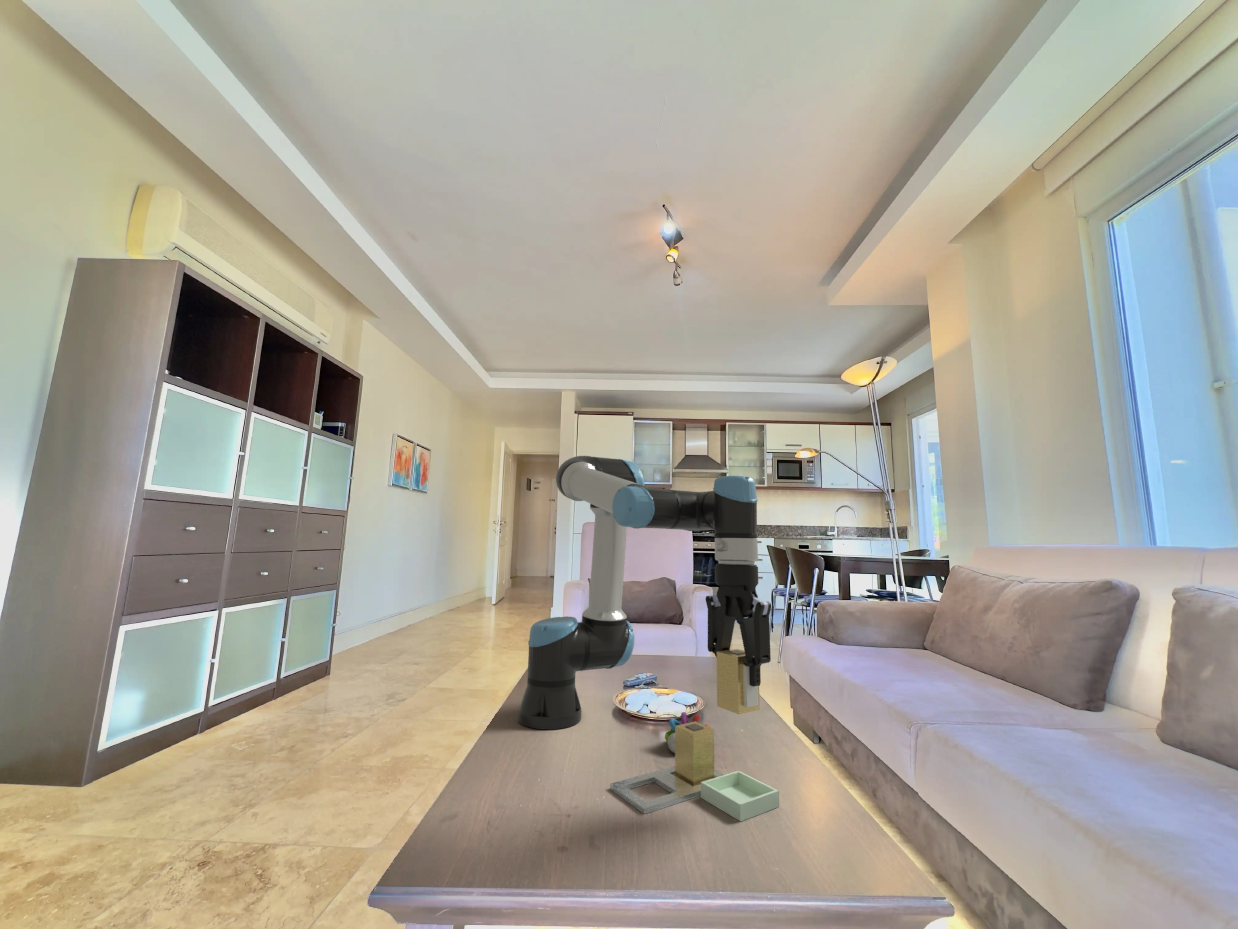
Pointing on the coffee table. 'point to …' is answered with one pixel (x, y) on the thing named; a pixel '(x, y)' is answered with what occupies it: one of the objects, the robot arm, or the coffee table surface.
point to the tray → (739, 795)
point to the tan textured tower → (694, 753)
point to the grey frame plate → (662, 778)
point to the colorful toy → (671, 734)
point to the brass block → (732, 681)
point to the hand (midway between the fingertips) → (738, 700)
